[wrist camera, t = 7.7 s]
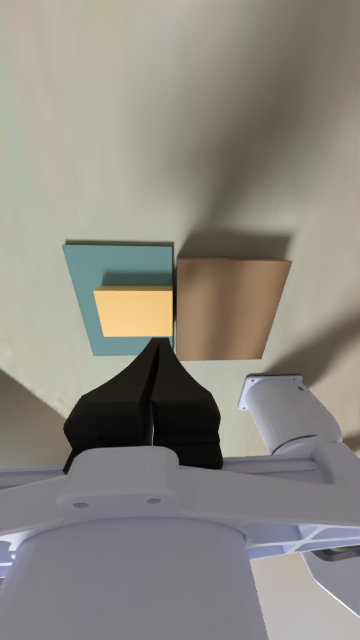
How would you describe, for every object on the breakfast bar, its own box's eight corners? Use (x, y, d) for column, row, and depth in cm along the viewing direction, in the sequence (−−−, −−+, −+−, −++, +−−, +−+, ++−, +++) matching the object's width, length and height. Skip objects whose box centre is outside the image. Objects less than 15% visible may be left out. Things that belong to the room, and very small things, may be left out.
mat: (172, 246, 17) (172, 246, 16) (172, 352, 23) (172, 354, 23) (64, 244, 16) (61, 244, 16) (95, 353, 22) (93, 355, 22)
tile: (172, 286, 18) (172, 291, 16) (172, 327, 21) (172, 336, 19) (101, 285, 18) (93, 290, 16) (109, 328, 20) (103, 336, 18)
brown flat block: (274, 258, 18) (292, 261, 15) (250, 345, 23) (261, 359, 20) (176, 256, 17) (177, 259, 15) (176, 346, 23) (176, 360, 20)
